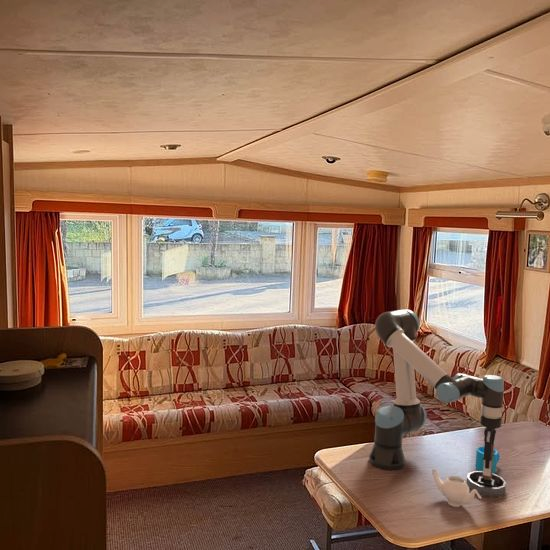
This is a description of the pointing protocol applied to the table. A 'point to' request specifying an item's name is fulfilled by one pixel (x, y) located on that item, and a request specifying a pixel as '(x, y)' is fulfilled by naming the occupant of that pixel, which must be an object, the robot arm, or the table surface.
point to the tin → (486, 484)
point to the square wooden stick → (491, 466)
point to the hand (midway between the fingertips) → (487, 473)
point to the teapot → (455, 490)
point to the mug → (481, 461)
